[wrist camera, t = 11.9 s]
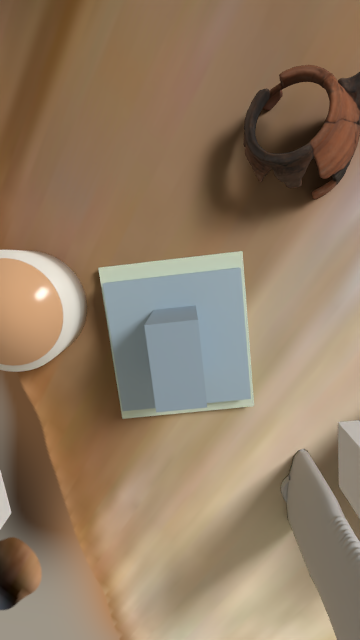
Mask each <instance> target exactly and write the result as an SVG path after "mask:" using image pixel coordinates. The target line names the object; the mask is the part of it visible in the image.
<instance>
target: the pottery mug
mask: <svg viewBox="0 0 360 640" xmlns="http://www.w3.org/2000/svg"><path fill="white" fill-rule="evenodd" d="M279 76H280V81H281V83H280V84H278V85H277V86H275V87H274V88H272V89H271V90H270V91H269V90H268V89H263V90H260V91H259V92H258V93H257V94H256V96H255V97H254V99H253V100H252V102H251V105H250V107H249V109H248V111H247V114H246V118H245V124H244V130H245V133H244V147H246V148H245V155H246V157H247V159H248V161H249V163H250V164H251V166H252V168H253V170H254V172H255V174H256V177H257V178H258V180H259V182H262V181H263V178H264V176H265V175H267V173H268V172H269V171H270V170H271V169H273V171H274V174H275V176H276V177H277V178H278V180H280V181H282V182H284V183H285V184H286V186H287V187H288V188H298V187H300V186H301V185H302V177H303V175H304V174H305V172H306V169H307V167H308V165H309V163H310V161H311V160H312V158H314V160H315V162H316V164H317V167H318V172H319V176H320V177H322V178H323V179H327V178H329V177H330V176H331V175H332V176H333V179H332V180H330V181H329V182H327V183H326V184H324V185H323V186H321V187H319V188H317V189H315V190H313V191H312V196H313V199H318V198H320V197H322V196H323V195H325V194H326V193H328V192H329V191H330V190H332V189H333V188H334V187H335V186H336V185H337V184H338V183H339V181H340V180H341V179H342V177H343V176H344V174H345V172H346V169H347V167H348V166H349V164H350V161H351V159H352V157H353V155H354V152H355V150H356V147H357V144H358V140H359V136H360V72H359V73H357V74H356V75H355V76H353V77H350V78H340V79H339V80H338V81H337V79H336V78H335V77H334V75H333V74H332V73H330V72H329V71H327V70H325V69H324V68H321V67H317V66H312V65H305V66H297V67H293V68H291V69H288V70H286V71H284V72H282V73H281V74H280V75H279ZM299 82H314V83H317V84H319V85H321V86H322V87H323V88H325V89H326V91H327V93H328V96H329V100H330V107H329V112H328V116H327V118H326V120H325V123H324V125H323V126H322V128H321V129H320V131H319V132H318V133H317V134H316V135H315V137H314V138H313V139H311V141H310V142H309V143H308V144H307V145H305V146H303V147H301V148H299V149H297V150H295V151H292V152H289V153H283V154H274V153H269V152H267V151H265V150H264V149H262V147H260V146H259V144H258V142H257V140H256V136H255V128H256V122H257V119H258V116H259V114H260V112H261V110H262V109H264V110H270V109H272V108H273V107H274V106H275V105H276V103H277V102H278V101H279V100H280V98H281V97H282V89H284V88H286V87H288V86H290V85H293V84H296V83H299Z"/></svg>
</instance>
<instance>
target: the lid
mask: <svg viewBox="0 0 360 640" xmlns="http://www.w3.org/2000/svg"><path fill="white" fill-rule="evenodd" d="M102 285H103V292H104V298H105V304H106V311H107V317H108V323H109V329H110V336H111V342H112V348H113V354H114V361H115V367H116V373H117V380H118V386H119V392H120V398H121V405H122V411H131V410H141V409H152V408H156V412H165V411H176V410H186V409H197V408H207V403H214V402H224V401H235V400H245V399H251V393H250V380H249V367H248V354H247V341H246V328H245V315H244V303H243V290H242V277H241V268H239V267H237V268H229V269H220V270H211V271H202V272H194V273H185V274H176V275H167V276H159V277H150V278H141V279H132V280H123V281H115V282H106V283H103V284H102Z"/></svg>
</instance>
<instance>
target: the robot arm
mask: <svg viewBox="0 0 360 640" xmlns="http://www.w3.org/2000/svg"><path fill="white" fill-rule="evenodd" d="M338 466H339V487H340V489H341V491H342V492H343V494H344V495H345V497H346V498H347V500H348V502H349V503H350V505H351V506H352V508H353V509H354V511H355V513H356V514H357V516H358V517H359V519H360V421H359V420H355V421H343V422H338ZM10 514H11V510H10V506H9V502H8V498H7V494H6V490H5V486H4V483H3V479H2V475H1V471H0V529H1V528H2V526H3V524H4V523H5V522H6V520H7V519H8V517H9V516H10Z"/></svg>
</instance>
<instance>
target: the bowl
mask: <svg viewBox="0 0 360 640" xmlns="http://www.w3.org/2000/svg"><path fill="white" fill-rule="evenodd" d="M86 316H87V300H86V295H85V292H84V289H83V286H82V284H81V282H80V280H79V279H78V277H77V276H76V274H75V273H74V272H73V271H72V270H71V268H70V267H68V266H67V265H66V264H65V263H64V262H62V261H61V260H59V259H58V258H56V257H54V256H52V255H49V254H47V253H43V252H39V251H28V250H0V370H4V371H12V372H21V371H28V370H32V369H35V368H38V367H40V366H42V365H44V364H46V363H47V362H49V361H50V360H52V359H53V358H54V357H56V356H57V355H58V354H60V353H61V352H62V351H63V350H65V349H66V348H67V347H69V346H70V345H71V344H72V343H73V342H74V341H75V340H76V339H77V338H78V336H79V335H80V333H81V331H82V329H83V327H84V324H85V321H86Z"/></svg>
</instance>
